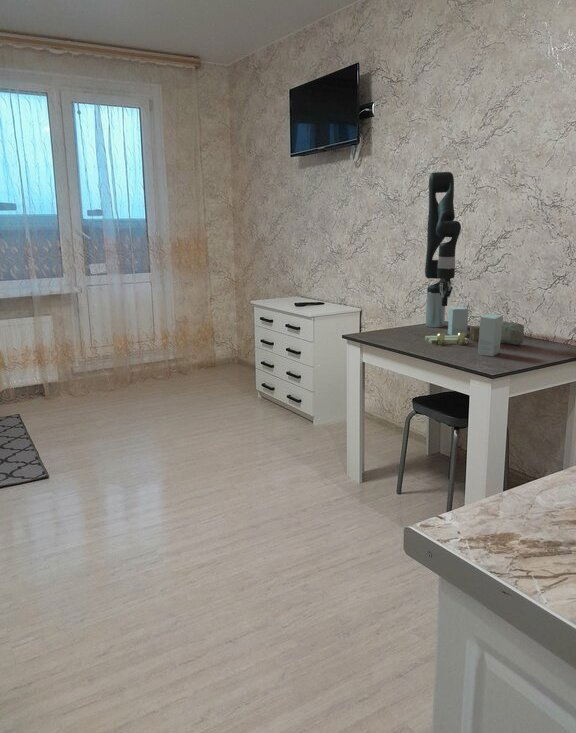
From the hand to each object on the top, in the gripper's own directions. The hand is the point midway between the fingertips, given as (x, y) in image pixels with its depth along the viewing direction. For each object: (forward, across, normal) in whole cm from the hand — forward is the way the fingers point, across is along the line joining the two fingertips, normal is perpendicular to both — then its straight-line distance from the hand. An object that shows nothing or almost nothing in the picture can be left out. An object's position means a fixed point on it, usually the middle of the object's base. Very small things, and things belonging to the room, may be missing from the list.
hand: (444, 305), depth 269 cm
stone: (+15, +16, +24) cm, 33 cm away
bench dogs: (+15, +14, -1) cm, 21 cm away
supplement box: (+15, -9, +10) cm, 20 cm away
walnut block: (+15, +5, +14) cm, 21 cm away
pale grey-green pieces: (+16, +7, -1) cm, 17 cm away
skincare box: (+15, +33, +8) cm, 38 cm away
